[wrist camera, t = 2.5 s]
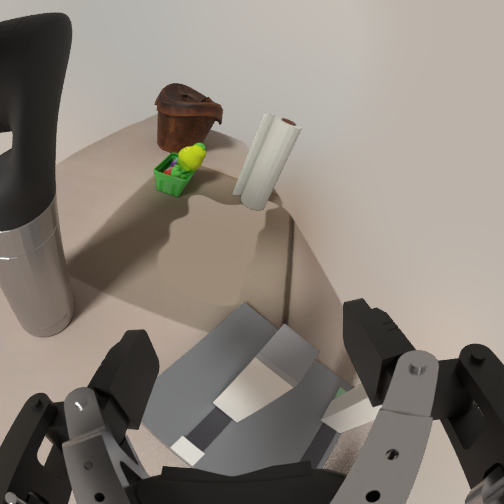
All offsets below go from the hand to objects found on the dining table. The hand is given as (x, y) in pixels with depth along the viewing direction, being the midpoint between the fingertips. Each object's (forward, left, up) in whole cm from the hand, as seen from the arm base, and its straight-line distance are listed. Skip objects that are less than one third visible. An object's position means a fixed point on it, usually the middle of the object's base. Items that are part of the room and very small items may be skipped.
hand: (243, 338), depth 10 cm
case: (-52, +48, -23) cm, 75 cm away
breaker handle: (+3, +6, -20) cm, 21 cm away
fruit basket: (-35, +33, -23) cm, 54 cm away
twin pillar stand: (+6, +8, -23) cm, 25 cm away
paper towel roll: (-22, +45, -23) cm, 55 cm away
